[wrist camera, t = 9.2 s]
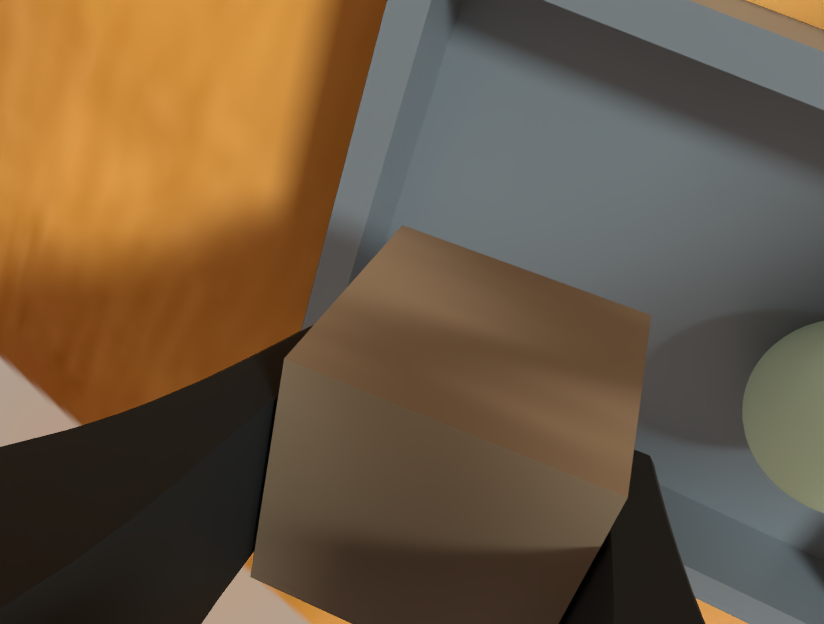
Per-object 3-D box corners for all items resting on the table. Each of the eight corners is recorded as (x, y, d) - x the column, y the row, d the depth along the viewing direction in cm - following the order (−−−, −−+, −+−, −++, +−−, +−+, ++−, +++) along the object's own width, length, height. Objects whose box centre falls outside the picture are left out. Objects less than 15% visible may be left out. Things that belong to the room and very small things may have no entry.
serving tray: (1282, 204, 13) (1412, 276, 11) (864, 590, 20) (886, 689, 18) (461, -108, 15) (414, -105, 13) (331, 340, 22) (283, 398, 20)
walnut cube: (651, 314, 11) (628, 497, 8) (563, 497, 13) (516, 699, 10) (403, 225, 12) (284, 358, 8) (358, 412, 14) (250, 576, 11)
